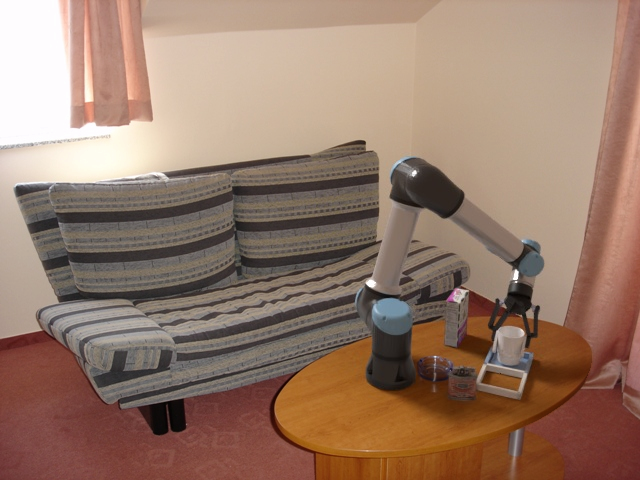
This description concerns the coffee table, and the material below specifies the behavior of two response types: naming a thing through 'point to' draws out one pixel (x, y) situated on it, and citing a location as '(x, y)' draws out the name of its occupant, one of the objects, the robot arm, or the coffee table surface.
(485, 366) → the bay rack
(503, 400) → the coffee table surface
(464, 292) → the candy bar box
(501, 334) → the white cup
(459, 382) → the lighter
